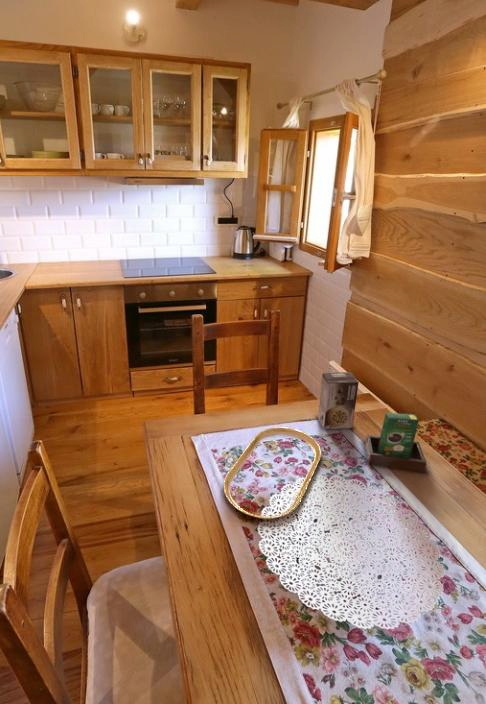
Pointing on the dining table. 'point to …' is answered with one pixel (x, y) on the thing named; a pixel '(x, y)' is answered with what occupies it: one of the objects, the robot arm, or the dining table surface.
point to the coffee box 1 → (337, 400)
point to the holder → (412, 463)
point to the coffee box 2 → (398, 434)
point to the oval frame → (250, 449)
